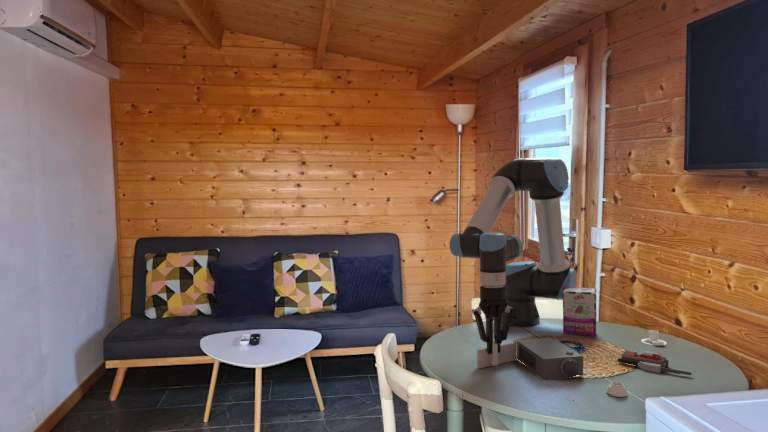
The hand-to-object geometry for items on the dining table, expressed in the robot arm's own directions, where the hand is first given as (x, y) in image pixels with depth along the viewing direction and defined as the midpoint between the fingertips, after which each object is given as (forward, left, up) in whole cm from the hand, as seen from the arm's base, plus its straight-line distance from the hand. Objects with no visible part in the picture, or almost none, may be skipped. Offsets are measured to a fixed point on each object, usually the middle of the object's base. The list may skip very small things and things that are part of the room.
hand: (493, 363), depth 168 cm
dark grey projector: (+3, +16, -1) cm, 16 cm away
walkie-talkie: (+10, +46, -2) cm, 47 cm away
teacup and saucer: (-12, +59, -2) cm, 61 cm away
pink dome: (+25, +24, -2) cm, 35 cm away
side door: (-3, +2, -1) cm, 4 cm away
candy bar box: (-28, +44, -1) cm, 52 cm away
